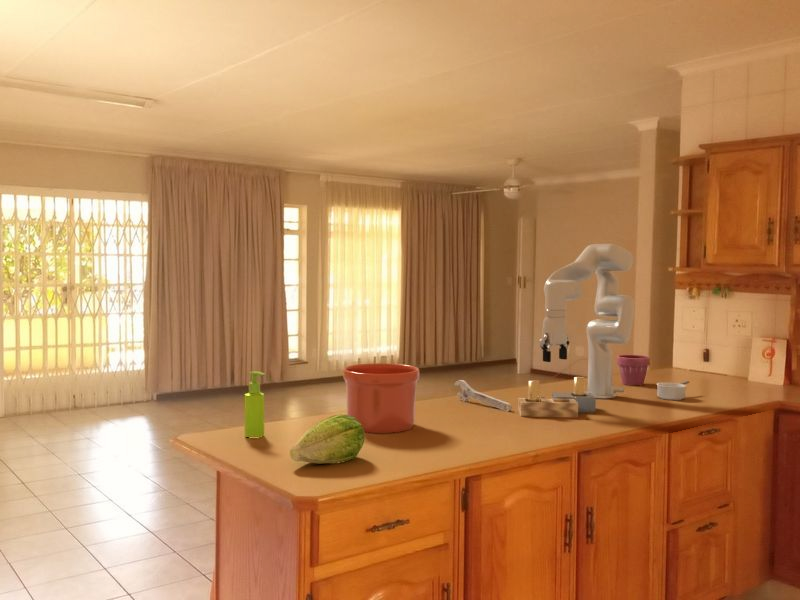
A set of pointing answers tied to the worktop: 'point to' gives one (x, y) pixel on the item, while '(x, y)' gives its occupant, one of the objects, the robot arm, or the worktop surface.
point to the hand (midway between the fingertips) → (554, 360)
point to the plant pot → (633, 368)
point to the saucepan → (671, 390)
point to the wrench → (480, 396)
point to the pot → (381, 396)
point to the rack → (548, 408)
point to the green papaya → (330, 441)
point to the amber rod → (533, 390)
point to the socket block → (578, 400)
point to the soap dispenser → (254, 408)
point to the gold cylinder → (579, 386)
